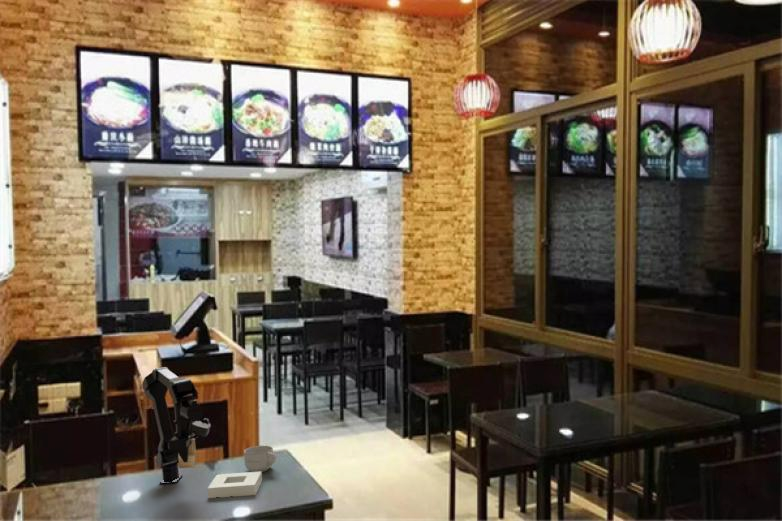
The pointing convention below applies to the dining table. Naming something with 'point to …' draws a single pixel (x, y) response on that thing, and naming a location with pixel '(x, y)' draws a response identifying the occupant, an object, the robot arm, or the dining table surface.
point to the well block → (235, 484)
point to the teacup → (259, 458)
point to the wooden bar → (189, 456)
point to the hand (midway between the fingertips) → (187, 460)
